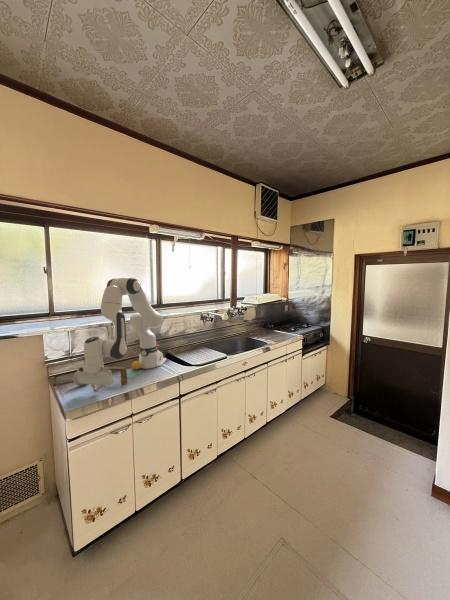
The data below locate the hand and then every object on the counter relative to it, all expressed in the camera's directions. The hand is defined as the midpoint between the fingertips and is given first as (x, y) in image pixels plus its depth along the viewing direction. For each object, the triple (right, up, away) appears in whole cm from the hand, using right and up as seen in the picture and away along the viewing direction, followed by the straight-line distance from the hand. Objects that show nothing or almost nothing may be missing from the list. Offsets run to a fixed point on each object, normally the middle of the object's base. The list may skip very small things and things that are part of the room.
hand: (96, 391), depth 134 cm
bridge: (+4, 0, +15) cm, 15 cm away
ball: (+8, +5, +37) cm, 38 cm away
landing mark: (+7, +1, +29) cm, 30 cm away
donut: (-15, -1, +13) cm, 20 cm away
